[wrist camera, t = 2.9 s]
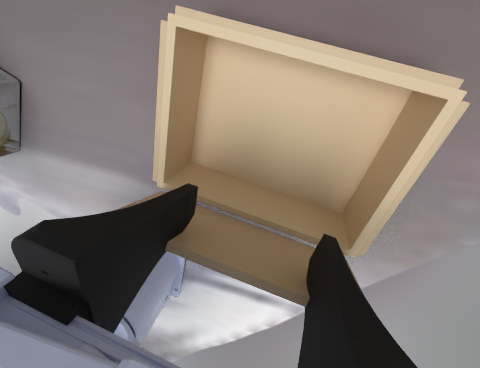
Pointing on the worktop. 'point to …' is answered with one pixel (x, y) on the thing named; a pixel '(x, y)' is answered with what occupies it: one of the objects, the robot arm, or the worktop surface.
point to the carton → (294, 127)
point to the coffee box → (9, 114)
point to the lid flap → (244, 253)
